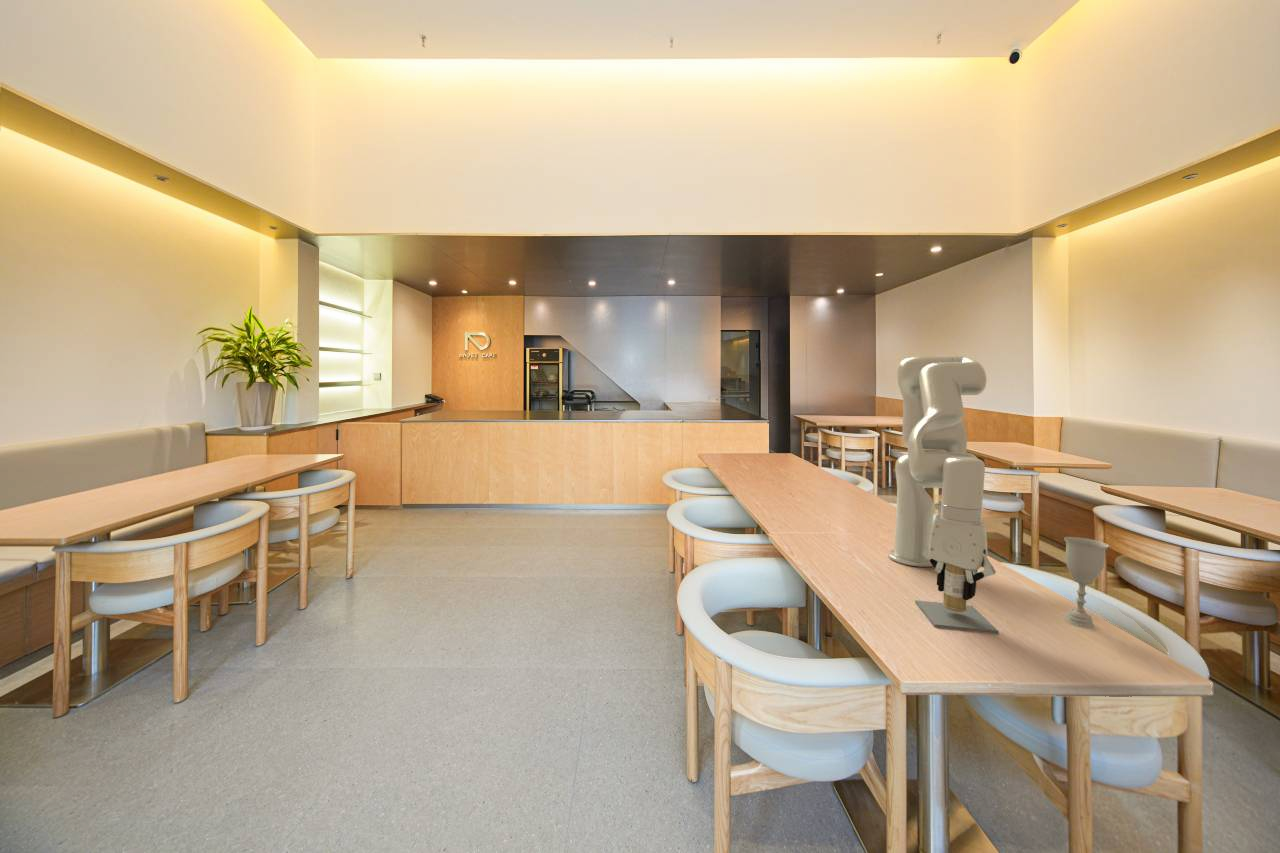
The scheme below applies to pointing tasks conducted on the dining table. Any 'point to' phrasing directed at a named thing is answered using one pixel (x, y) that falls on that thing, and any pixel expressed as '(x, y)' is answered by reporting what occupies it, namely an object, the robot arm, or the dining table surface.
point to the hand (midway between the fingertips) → (955, 593)
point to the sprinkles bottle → (954, 588)
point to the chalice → (1083, 573)
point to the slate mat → (955, 618)
